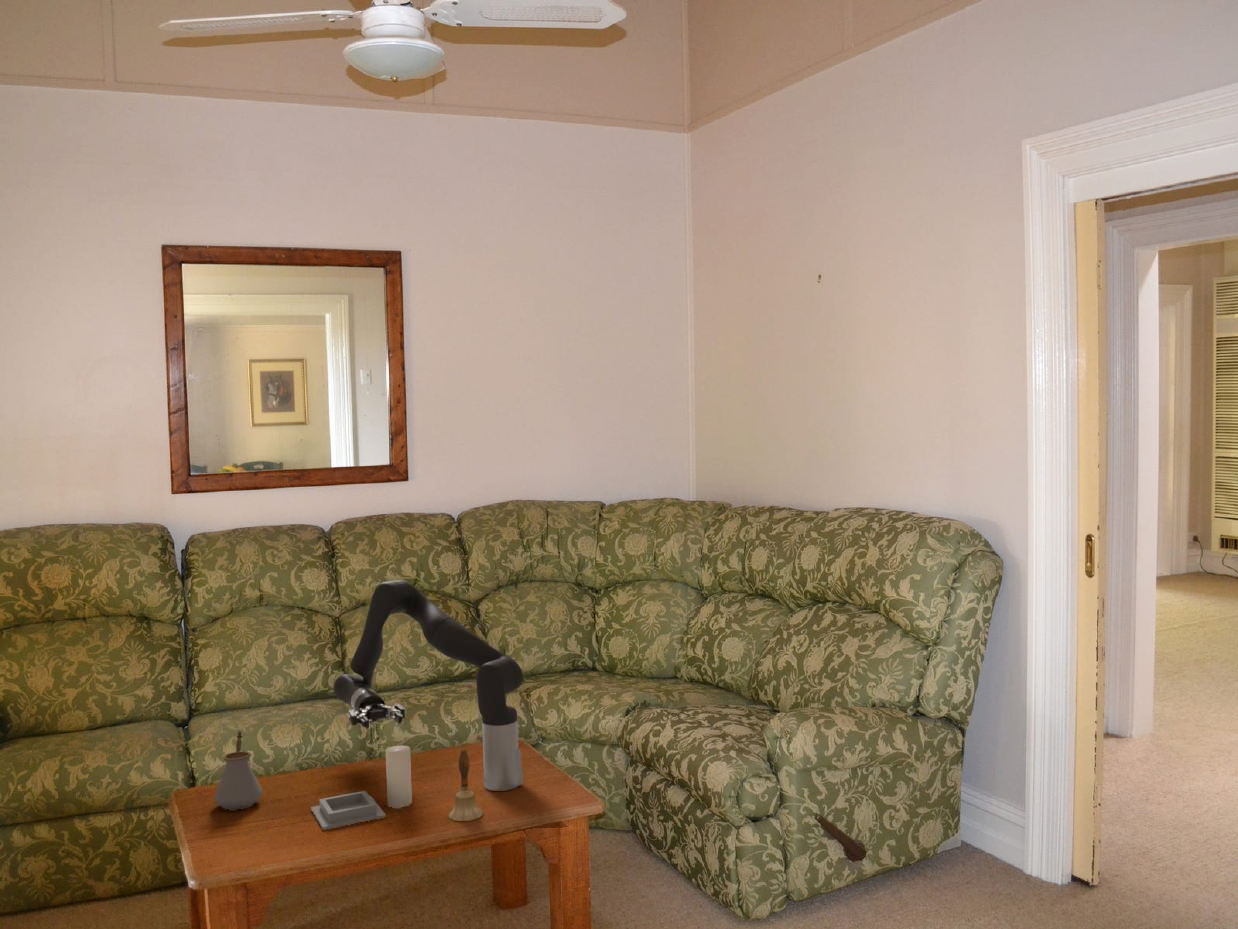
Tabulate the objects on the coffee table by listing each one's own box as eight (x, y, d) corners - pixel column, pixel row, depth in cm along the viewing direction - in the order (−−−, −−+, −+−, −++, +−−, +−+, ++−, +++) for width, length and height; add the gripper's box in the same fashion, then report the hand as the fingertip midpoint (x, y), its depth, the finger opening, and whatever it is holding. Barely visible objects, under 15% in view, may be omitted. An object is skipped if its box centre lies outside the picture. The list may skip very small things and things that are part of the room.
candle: (408, 798, 270) (406, 744, 269) (414, 805, 264) (412, 750, 264) (385, 802, 267) (382, 748, 266) (391, 810, 262) (389, 754, 261)
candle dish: (370, 799, 270) (370, 787, 270) (385, 818, 256) (385, 805, 256) (311, 810, 263) (310, 798, 263) (323, 830, 250) (322, 818, 249)
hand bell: (444, 813, 259) (442, 749, 258) (477, 806, 262) (474, 743, 262) (454, 824, 251) (451, 758, 251) (487, 818, 255) (485, 753, 254)
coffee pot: (261, 810, 264) (259, 751, 264) (212, 816, 261) (210, 756, 260) (265, 782, 285) (262, 727, 284) (219, 787, 282) (217, 732, 281)
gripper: (341, 694, 286) (356, 712, 272) (393, 687, 293) (410, 704, 278) (341, 721, 287) (356, 740, 272) (393, 714, 293) (410, 732, 279)
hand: (384, 722), depth 275 cm, fingers open, 8 cm apart
